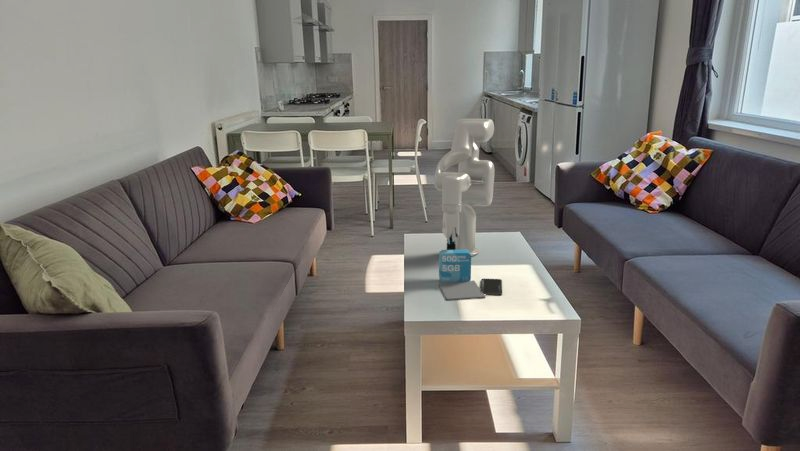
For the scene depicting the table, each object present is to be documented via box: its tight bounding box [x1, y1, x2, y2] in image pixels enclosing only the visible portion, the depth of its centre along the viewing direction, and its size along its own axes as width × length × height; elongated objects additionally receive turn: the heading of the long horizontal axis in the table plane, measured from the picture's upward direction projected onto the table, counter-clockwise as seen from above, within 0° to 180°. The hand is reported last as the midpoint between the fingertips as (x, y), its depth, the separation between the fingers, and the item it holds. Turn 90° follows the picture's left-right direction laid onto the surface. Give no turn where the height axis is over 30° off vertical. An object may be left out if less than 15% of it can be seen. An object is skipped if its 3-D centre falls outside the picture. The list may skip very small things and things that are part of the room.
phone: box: [480, 278, 503, 296], centre depth 204 cm, size 8×1×15 cm
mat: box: [437, 280, 486, 301], centre depth 201 cm, size 16×14×1 cm
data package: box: [438, 249, 472, 283], centre depth 211 cm, size 12×4×12 cm, turn 90°
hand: (451, 252), depth 216 cm, fingers closed
